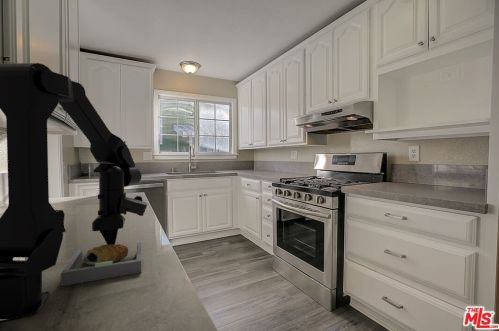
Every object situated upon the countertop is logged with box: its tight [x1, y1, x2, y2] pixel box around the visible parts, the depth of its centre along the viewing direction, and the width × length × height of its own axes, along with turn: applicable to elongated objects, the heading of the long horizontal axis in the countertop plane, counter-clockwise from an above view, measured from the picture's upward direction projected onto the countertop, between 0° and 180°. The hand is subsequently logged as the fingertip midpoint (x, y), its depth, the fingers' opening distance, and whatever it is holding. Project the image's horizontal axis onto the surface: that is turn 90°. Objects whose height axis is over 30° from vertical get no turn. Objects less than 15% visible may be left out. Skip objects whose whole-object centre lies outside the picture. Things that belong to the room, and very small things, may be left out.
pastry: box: [83, 243, 129, 266], centre depth 58 cm, size 9×7×4 cm
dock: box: [60, 242, 142, 287], centre depth 54 cm, size 13×14×3 cm
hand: (112, 248), depth 62 cm, fingers closed
